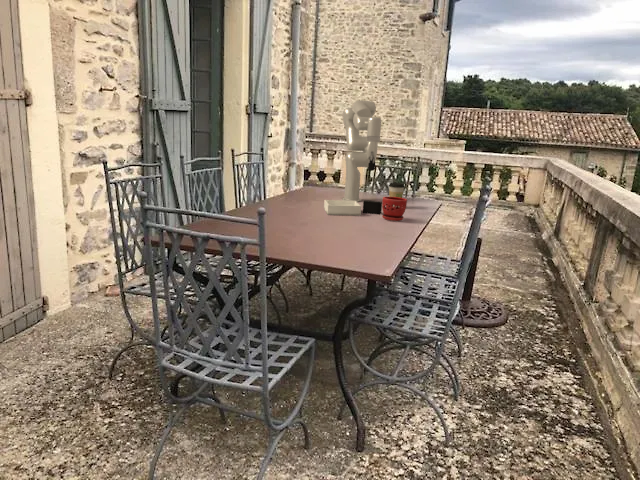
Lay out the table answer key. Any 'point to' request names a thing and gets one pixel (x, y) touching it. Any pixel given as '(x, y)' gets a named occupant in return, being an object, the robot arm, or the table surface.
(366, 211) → the digital camera
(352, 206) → the box
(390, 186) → the coffee cup
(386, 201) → the plant pot
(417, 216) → the table surface
